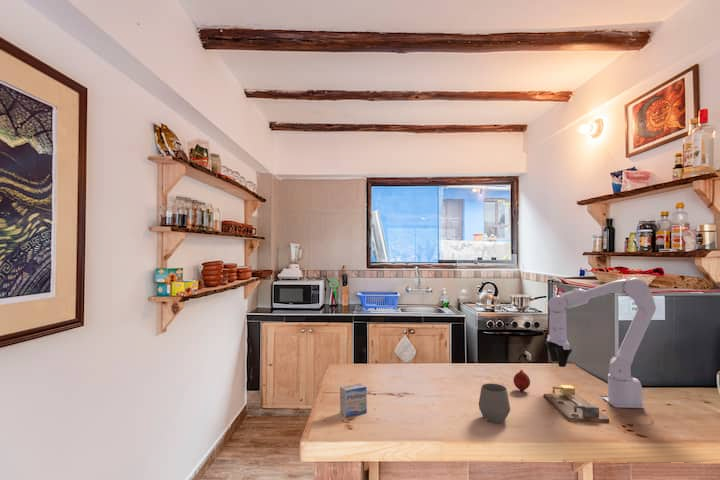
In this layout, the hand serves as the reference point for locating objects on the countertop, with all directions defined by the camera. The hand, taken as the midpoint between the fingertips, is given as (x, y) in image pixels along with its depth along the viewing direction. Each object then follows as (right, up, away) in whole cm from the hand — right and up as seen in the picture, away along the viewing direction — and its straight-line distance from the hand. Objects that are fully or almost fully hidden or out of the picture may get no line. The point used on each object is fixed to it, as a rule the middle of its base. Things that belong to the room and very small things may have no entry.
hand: (558, 363), depth 146 cm
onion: (-13, -11, +1) cm, 17 cm away
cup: (-32, -10, -23) cm, 41 cm away
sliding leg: (-2, -8, -7) cm, 11 cm away
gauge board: (-3, -10, -15) cm, 18 cm away
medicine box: (-77, -11, -18) cm, 80 cm away
